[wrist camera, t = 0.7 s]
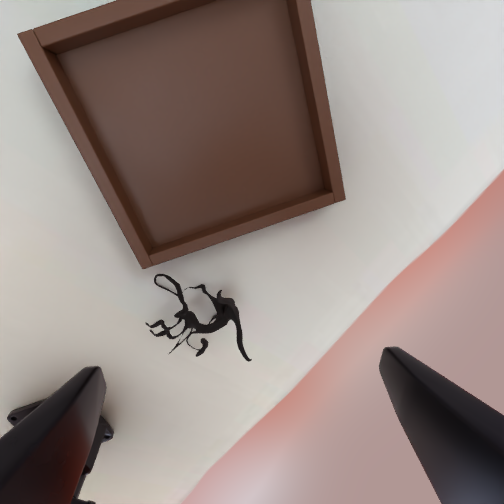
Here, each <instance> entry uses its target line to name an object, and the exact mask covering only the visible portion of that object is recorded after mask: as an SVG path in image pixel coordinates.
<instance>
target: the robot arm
mask: <svg viewBox="0 0 504 504" xmlns="http://www.w3.org/2000/svg"><path fill="white" fill-rule="evenodd" d="M379 370H380V374H381V376H382V379H383V381H384V384H385V387H386V389H387V391H388V394H389V397H390V399H391V402H392V404H393V407H394V409H395V412H396V414H397V416H398V419H399V421H400V423H401V425H402V427H403V429H404V431H405V433H406V435H407V437H408V439H409V441H410V443H411V445H412V447H413V449H414V451H415V452H416V455H417V456H418V458H419V460H420V462H421V464H422V466H423V468H424V470H425V472H426V474H427V476H428V478H429V480H430V482H431V484H432V486H433V488H434V490H435V492H436V494H437V496H438V498H439V500H440V502H441V503H442V504H504V415H502V414H501V413H499V412H498V411H496V410H495V409H493V408H491V407H490V406H489V405H487V404H485V403H484V402H482V401H481V400H479V399H478V398H476V397H475V396H473V395H472V394H470V393H468V392H467V391H465V390H464V389H462V388H460V387H459V386H458V385H456V384H455V383H453V382H451V381H450V380H448V379H447V378H445V377H444V376H442V375H441V374H439V373H437V372H436V371H434V370H433V369H431V368H430V367H428V366H427V365H425V364H424V363H422V362H421V361H419V360H417V359H416V358H414V357H413V356H411V355H410V354H408V353H407V352H405V351H404V350H402V349H400V348H399V347H385V348H384V349H383V352H382V356H381V360H380V364H379ZM106 388H107V387H106V382H105V379H104V376H103V372H102V369H101V368H100V367H99V366H92V367H85V368H83V369H82V370H81V371H80V372H78V373H77V374H76V375H75V376H74V377H73V378H71V379H70V380H69V381H68V382H67V383H65V384H64V385H63V386H62V387H61V388H59V389H58V390H57V391H56V392H55V393H54V394H52V395H51V396H50V397H49V398H48V399H45V400H42V401H39V402H37V403H34V404H31V405H28V406H25V407H22V408H19V409H16V410H13V411H11V413H10V414H9V415H8V417H7V419H8V421H9V422H10V423H11V424H12V425H13V426H14V427H13V428H12V429H11V430H10V431H8V432H7V433H6V434H5V435H4V436H2V437H1V438H0V504H95V502H93V501H90V500H88V501H84V500H80V499H78V496H79V494H80V491H81V488H82V485H83V483H84V480H85V477H86V475H87V474H89V473H90V472H91V470H92V468H93V465H94V462H95V459H96V457H97V454H98V451H99V448H100V445H101V443H102V442H105V441H108V440H110V439H112V438H113V435H114V431H113V430H112V428H111V427H110V426H109V425H108V423H107V422H106V421H105V420H104V418H103V417H102V416H101V415H100V413H101V410H102V406H103V402H104V398H105V395H106Z"/></svg>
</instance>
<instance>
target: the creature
mask: <svg viewBox="0 0 504 504" xmlns="http://www.w3.org/2000/svg"><path fill="white" fill-rule="evenodd" d="M157 276H165V277H166V278H167V279H168V280H169V281H170V282H171V283H173V284H174V285H175V287H176V290H177V294H176V293H174V292H172V291H170V290H169V289H167V288H164V287H162V286H160V285H158V284H157V283H156V278H157ZM154 282H155V284H156V285H157V286H159V287H161V288H163V289H165V290H167V291H170V292H172V293H173V294H175V295H176V296H178V298H179V300H180V302H181V303H182V304H183V309H182V310H181V311H179V312H177V313H176V314H175V315H174V317H176V318H179V320H178V322H177V324H179V323H180V322H181V321H182V319H184V320H185V326H184V329H183V331H182V332H181V333H180V334H179V335H181V334H182V333H184V332H185V330H186V329H187V328H191V332H190V333H189V335H188V336H187V337H186V338H187V339H188V338H189V336H190V335H191V334H194V333H212V332H215V331H217V330H219V329H220V328H222V327H224V326H225V325H227V323H228V321H229V320H230V319H231V320H233V321H234V323H235V325H236V329H237V345H238V348H239V350H240V352H241V354H242V355H243V357H244V358H245V359H246V360H247V361H251V360H252V359H249V358H248V356H247V354H246V352H245V350H244V347H243V343H242V329H241V324H240V319H239V311H238V308H237V307H236V306H235V301H234V300H233V299H232V298H223V297H222V296H221V291H222V290H220V291H219V292H218V293H217V298H215V297H213V296H211V295H210V294H209V293H208V292H207V291H206V288H205V285H203V284H201V285H199V286H197V287H188V288H194V289H197V288H202V291H203V293H205V294H207V295H208V297H209V298H210V299H211V301H212V303H213V305H214V307H215V309H216V311H217V315H215V316H214V317H213V318H212V319H211V321H212V320H213V319H215V318H216V320H215V321H214V322H213V323H211V324H210V322H211V321H210V322H209V324H207V325H204V324H201V323H199V321H198V319H197V318H196V316H195V314H194V313H193V312H191V311H188V306H187V304H186V303H185V302H184V297H183V294H182V293H183V292H182V290H181V286H180V284H179V283H177V282H176V281H175V280H174V279H172V278H171V277H170V276H168V275H165V274H157V275H156V276H155V278H154ZM186 289H187V288H186ZM186 289H185V290H186ZM177 324H176V325H177ZM146 325H148V326H149V327H151V328H155V327H157V326H159V325H161V327H162V328H163V329H164V331H162V332H160V333H158V334H154V332H153V331H152V330H150V332H151V333H152V334H153V335H154V336H156V337H159V336H163V335H166V334H167V337H168V338H169V339H175V338H176V337H178V336H179V335H177V336H172V335H171V334H170V331H169V330H170V329H172V328H173V327H175V326H176V325H174V326H173V327H166V325H165V324H164V321H163V320H159V321H157V322H156V323H154V324H153V325H151V326H150V325H149V324H148V323H146ZM193 328H195V329H196V331H193V332H192V329H193ZM182 335H183V334H182ZM186 338H185V339H186ZM185 339H184V340H185ZM184 340H183V341H184ZM179 341H180V340H179ZM179 341H178V343H177V344H176V346H175V347H174V348H173V350H174V349H175V348H176V347H178V346H179V345H180V344H181V343H182V342H183V341H182V342H181V343H179ZM186 341H187V340H186ZM201 343H202V344H203V347H202V348H201V349H196V350H199V351H198V352H197V354H196V357H197V356H200V355H201V354H203V353H204V351H205V349H206V348H207V347H208V341H207V340H206V339H205V338H202V339H201ZM187 344H188V341H187ZM188 345H189V344H188ZM189 346H191V345H189ZM191 347H192V346H191ZM192 348H193V347H192ZM194 349H195V348H194ZM173 350H172V351H173ZM172 351H171V352H172ZM171 352H170V353H171ZM170 353H169V354H170Z"/></svg>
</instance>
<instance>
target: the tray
mask: <svg viewBox="0 0 504 504" xmlns="http://www.w3.org/2000/svg"><path fill="white" fill-rule="evenodd" d="M17 35H18V37H19V39H20V41H21V43H22V44H23V46H24V48H25V50H26V52H27V54H28V56H29V58H30V59H31V61H32V63H33V65H34V67H35V69H36V71H37V73H38V74H39V76H40V78H41V80H42V82H43V84H44V86H45V88H46V89H47V91H48V93H49V95H50V97H51V99H52V101H53V103H54V104H55V106H56V108H57V110H58V112H59V114H60V116H61V118H62V119H63V121H64V123H65V125H66V127H67V129H68V131H69V133H70V134H71V136H72V138H73V140H74V142H75V144H76V146H77V148H78V149H79V151H80V153H81V155H82V157H83V159H84V161H85V162H86V164H87V166H88V168H89V170H90V172H91V174H92V176H93V177H94V179H95V181H96V183H97V185H98V187H99V189H100V191H101V192H102V194H103V196H104V198H105V200H106V202H107V204H108V206H109V207H110V209H111V211H112V213H113V215H114V217H115V219H116V221H117V222H118V224H119V226H120V228H121V230H122V232H123V234H124V236H125V237H126V239H127V241H128V243H129V245H130V247H131V249H132V251H133V252H134V254H135V256H136V258H137V260H138V262H139V264H140V266H141V267H142V269H145V268H148V267H151V266H153V265H157V264H160V263H163V262H166V261H169V260H172V259H175V258H177V257H180V256H183V255H186V254H189V253H192V252H195V251H198V250H201V249H204V248H206V247H209V246H212V245H215V244H218V243H221V242H224V241H227V240H230V239H233V238H235V237H238V236H241V235H244V234H247V233H250V232H253V231H256V230H259V229H262V228H264V227H267V226H270V225H273V224H276V223H279V222H282V221H285V220H288V219H291V218H293V217H296V216H299V215H302V214H305V213H308V212H311V211H314V210H317V209H320V208H322V207H325V206H328V205H331V204H334V203H337V202H340V201H343V200H345V199H346V198H345V192H344V187H343V181H342V175H341V170H340V164H339V158H338V153H337V147H336V141H335V136H334V130H333V125H332V119H331V113H330V108H329V102H328V96H327V91H326V85H325V79H324V74H323V68H322V62H321V57H320V51H319V45H318V40H317V34H316V28H315V23H314V17H313V11H312V6H311V0H116V1H113V2H111V3H108V4H105V5H102V6H99V7H96V8H93V9H90V10H87V11H84V12H81V13H78V14H75V15H72V16H69V17H66V18H63V19H60V20H58V21H55V22H52V23H49V24H46V25H43V26H40V27H37V28H34V29H33V30H32V29H30V30H28V31H25V32H22V33H19V34H17Z"/></svg>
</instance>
